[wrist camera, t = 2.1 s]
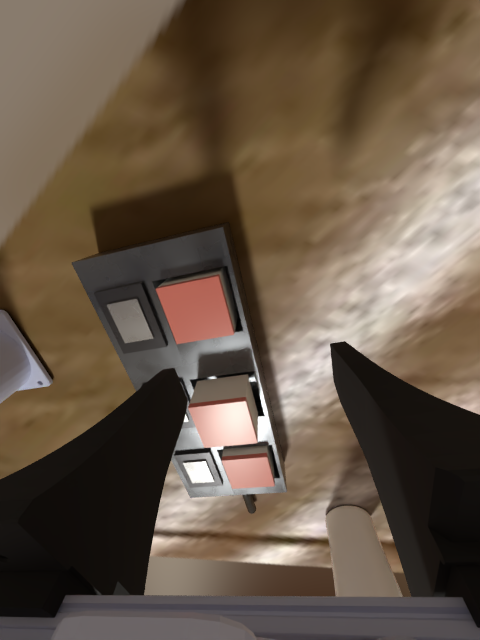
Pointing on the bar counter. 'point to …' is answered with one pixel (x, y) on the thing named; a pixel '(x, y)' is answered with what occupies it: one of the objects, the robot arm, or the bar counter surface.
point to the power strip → (187, 358)
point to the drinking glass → (358, 555)
